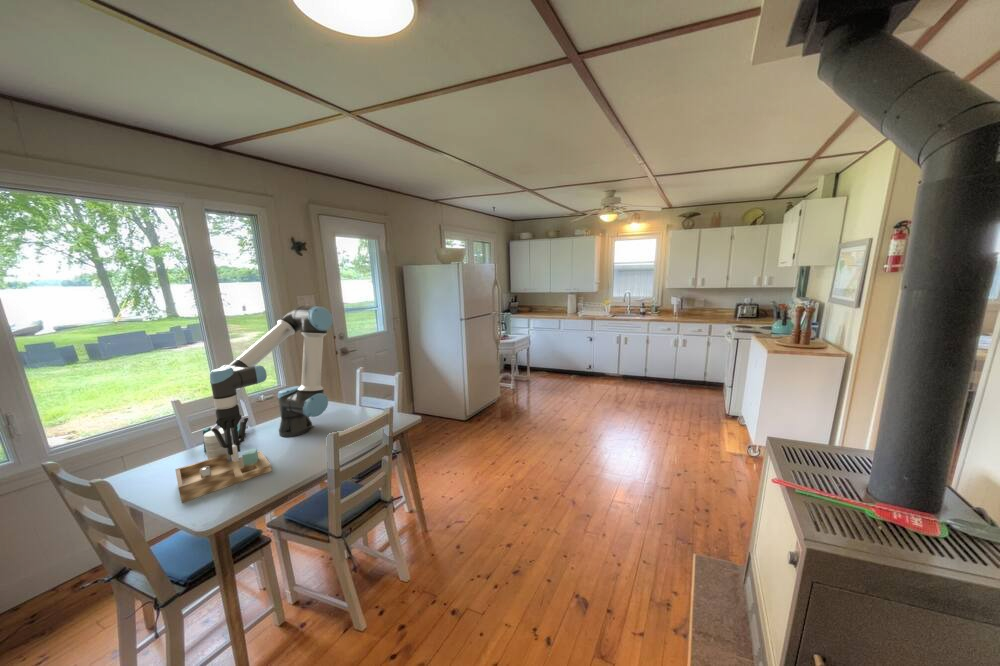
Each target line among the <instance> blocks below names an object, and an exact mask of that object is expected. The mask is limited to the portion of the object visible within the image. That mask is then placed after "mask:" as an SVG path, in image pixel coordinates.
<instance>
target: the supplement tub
mask: <svg viewBox="0 0 1000 666" xmlns="http://www.w3.org/2000/svg"><path fill="white" fill-rule="evenodd" d="M218 431H219V432H220V433H221V435H222V437H223V439H224V441H225V435H224V431H223V429H222V428H219V430H218ZM230 434H231V440H232V445H234V443H233V437H232V431H231V428H230ZM204 443H205V448H206V452H205V453H206V458H207V460H208V459H211V458H214V457H217V456H221V455H224V454H226V455H227V460H228V461H231V460H232V458H231V455H229V454H228V450H227V448H223V447H221V445H220V444H219V442H218V440H217V438H216V436H215V434H214V432H212V431H209V432H207V433H205V434H204V440H203V444H204ZM225 443H226V441H225Z"/></svg>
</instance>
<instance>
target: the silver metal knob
mask: <svg viewBox="0 0 1000 666" xmlns="http://www.w3.org/2000/svg"><path fill="white" fill-rule="evenodd" d="M200 474H201V478H205V477H208V476H211V470H210V466H206V467H203V468H201V469H200Z"/></svg>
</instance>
